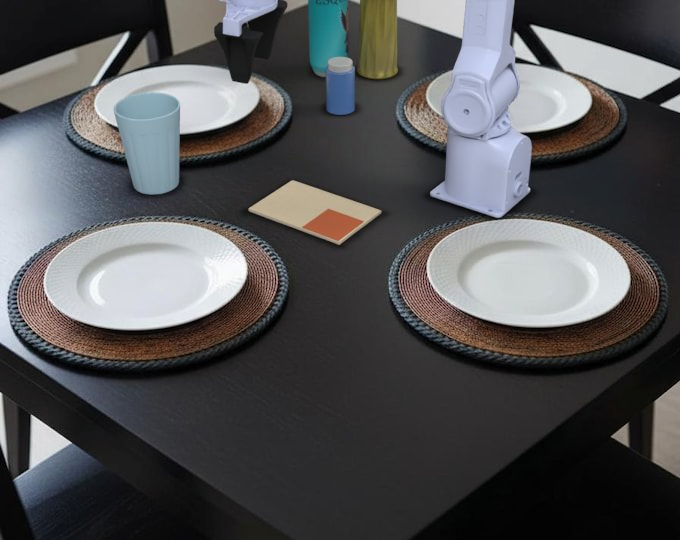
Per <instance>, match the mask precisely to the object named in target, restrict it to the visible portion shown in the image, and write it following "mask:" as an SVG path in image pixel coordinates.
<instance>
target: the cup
mask: <svg viewBox="0 0 680 540" xmlns="http://www.w3.org/2000/svg"><path fill="white" fill-rule="evenodd" d="M113 113H114V117H115V121H116V124H117V125H116V126H117V129H118V132H119V135H120V136H119V137H120V140H121V143H122V147H123V151H124V155H125V158H126V163H127V166H128V170H129V174H130V178H131V181H132V182H131V183H132V185H133V188H134V189H135V190H136V191H137V192H139V193H141V194H144V195H152V196H153V195H163V194H166V193H170V192H171V191H173V190H175V189H176V188H177V187H178V186H179V184H180V152H181V151H180V149H181V147H180V142H181V140H180V136H181V135H180V134H181V133H180V132H181V102H180V100H179V99H178V98H177V97H176V96H173V95H171V94H169V93H164V92H140V93H135V94H132V95H128V96H125V97H123V98H121V99H120V100H118V101H117V102H116V103H115V104H114V105H113Z"/></svg>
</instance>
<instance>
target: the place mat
mask: <svg viewBox="0 0 680 540" xmlns="http://www.w3.org/2000/svg"><path fill="white" fill-rule="evenodd" d="M248 212H250V213H252V214H255V215H257V216H260V217H263V218H265V219H268V220H271V221H274V222H276V223H279V224H282V225H284V226H287V227H290V228H293V229H296V230H298V231H301V232H303V233H306V234H309V235H311V236H314V237H317V238H319V239H322V240H325V241H327V242H331V243H333V244H335V245H338V246H340V245H341V244H342V243H344V242H345V241H346V240H348V239H349V238H351V237H352V236H353V235H354V234H356V233H357V232H358V231H360V230H361V229H363V228H364V227H365V226H367V225H368V224H369V223H370V222H372V221H373V220H375V219H376V218H377V217H378V216H380V215H381V214H382V210H381V209H378V208H375V207H373V206H370V205H366V204H364V203H361V202H357V201H356V200H355V201H354V200H352V199H349V198H346V197H344V196H341V195H337V194H334V193H332V192H328V191H325V190H323V189H321V188H317V187H315V186H311V185H309V184H305V183H302V182H301V181H297V180H294V179H293V180H292V179H291V180H290V181H289V182H287V183H286V184H284V185H283V186H281V187H280V188H278V189H276V190H275V191H274V192H272V193H270V194H268V195H267V196H265V197H264V198H262V199H261V200H260V201H258V202H256V203H255V204H253V205H252V206H250V207H249V208H248Z"/></svg>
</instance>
